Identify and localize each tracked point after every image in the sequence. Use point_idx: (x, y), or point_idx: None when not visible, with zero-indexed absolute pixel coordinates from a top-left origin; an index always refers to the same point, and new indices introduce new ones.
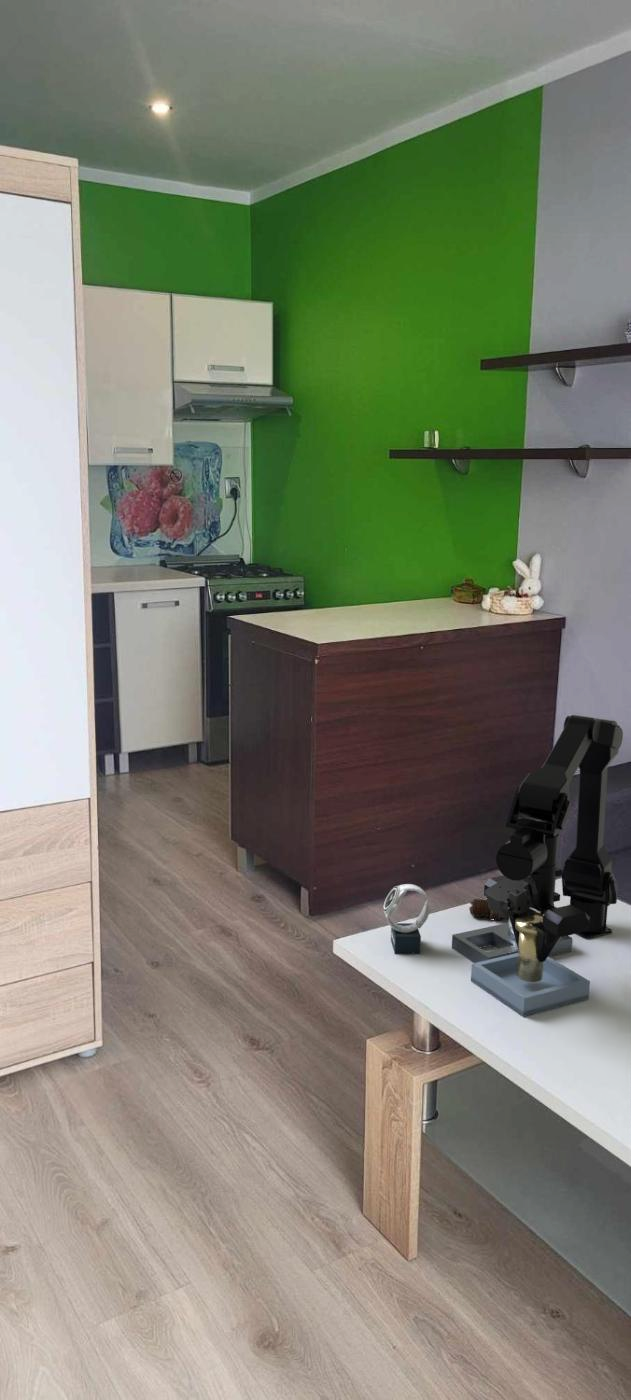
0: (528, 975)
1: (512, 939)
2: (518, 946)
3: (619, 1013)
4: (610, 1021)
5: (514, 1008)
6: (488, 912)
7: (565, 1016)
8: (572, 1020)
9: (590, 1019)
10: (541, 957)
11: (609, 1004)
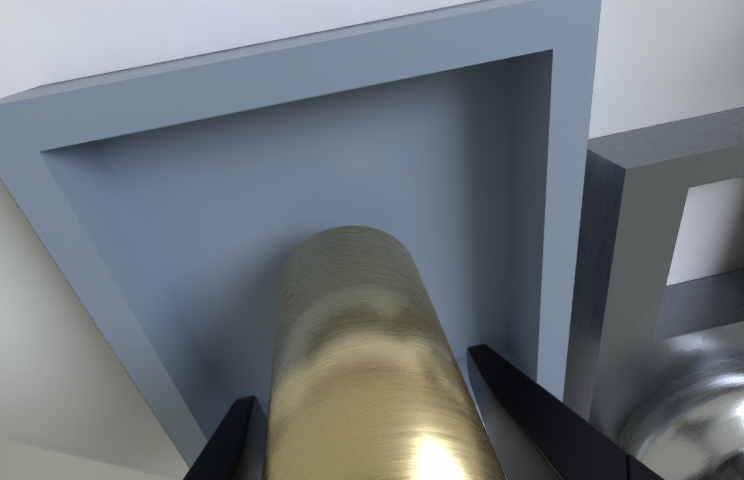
0: (289, 276)
1: (697, 353)
2: (480, 358)
3: (94, 460)
4: (21, 421)
5: (115, 72)
6: None
7: (60, 292)
8: (18, 304)
9: (35, 368)
10: (214, 438)
11: (169, 454)
